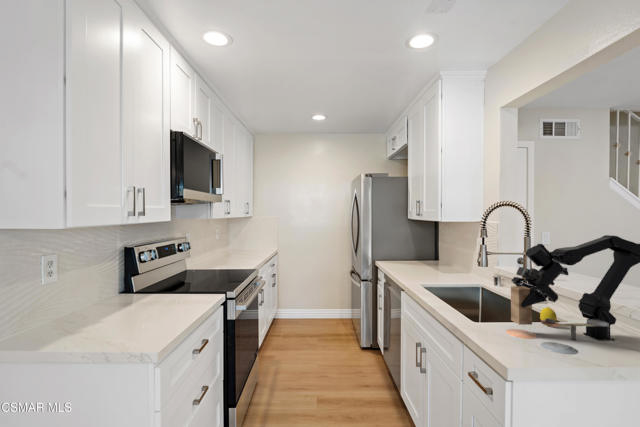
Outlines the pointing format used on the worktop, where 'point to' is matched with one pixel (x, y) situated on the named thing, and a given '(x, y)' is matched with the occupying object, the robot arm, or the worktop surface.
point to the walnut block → (517, 311)
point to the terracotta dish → (521, 333)
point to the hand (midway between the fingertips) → (517, 304)
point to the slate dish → (559, 348)
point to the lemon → (548, 314)
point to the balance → (574, 325)
